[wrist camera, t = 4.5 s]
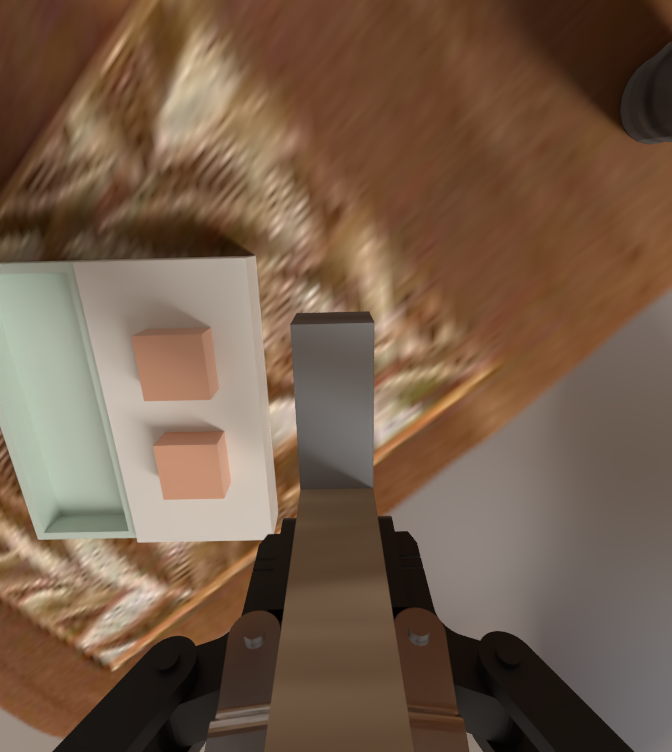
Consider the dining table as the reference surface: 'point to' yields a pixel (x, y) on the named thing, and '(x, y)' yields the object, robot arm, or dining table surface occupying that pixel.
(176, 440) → the tile
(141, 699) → the robot arm
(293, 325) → the scraper
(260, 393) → the stone plate
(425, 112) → the dining table surface
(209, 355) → the tile
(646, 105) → the beverage cup
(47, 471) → the tray
